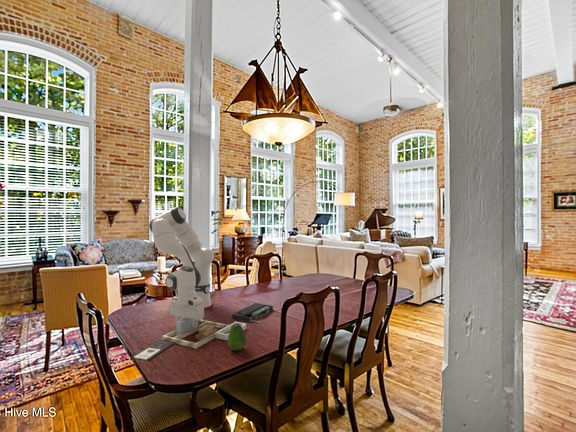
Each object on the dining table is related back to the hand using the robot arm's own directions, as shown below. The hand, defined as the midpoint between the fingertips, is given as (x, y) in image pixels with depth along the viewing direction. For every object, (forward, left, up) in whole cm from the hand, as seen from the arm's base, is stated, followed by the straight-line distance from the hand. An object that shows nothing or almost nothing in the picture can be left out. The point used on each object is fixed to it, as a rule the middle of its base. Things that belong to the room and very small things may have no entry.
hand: (186, 325), depth 158 cm
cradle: (+21, +9, -3) cm, 24 cm away
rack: (+7, 0, -3) cm, 8 cm away
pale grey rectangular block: (0, 0, -3) cm, 3 cm away
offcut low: (+13, 0, -4) cm, 14 cm away
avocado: (+35, -6, -3) cm, 36 cm away
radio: (+19, +39, -4) cm, 44 cm away
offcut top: (+13, 0, -1) cm, 13 cm away
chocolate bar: (+2, -22, -4) cm, 22 cm away
